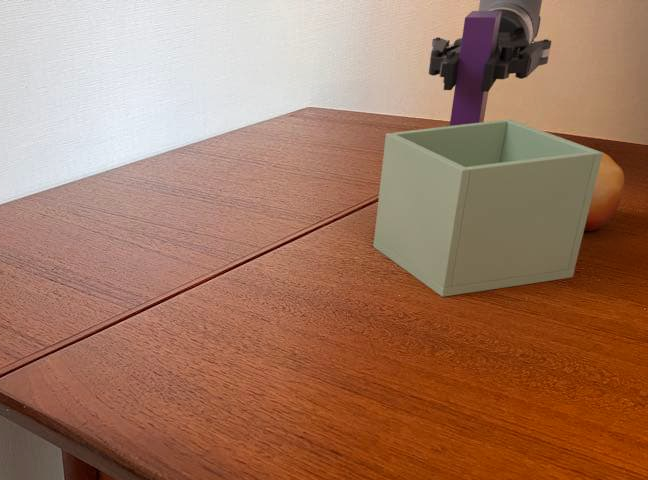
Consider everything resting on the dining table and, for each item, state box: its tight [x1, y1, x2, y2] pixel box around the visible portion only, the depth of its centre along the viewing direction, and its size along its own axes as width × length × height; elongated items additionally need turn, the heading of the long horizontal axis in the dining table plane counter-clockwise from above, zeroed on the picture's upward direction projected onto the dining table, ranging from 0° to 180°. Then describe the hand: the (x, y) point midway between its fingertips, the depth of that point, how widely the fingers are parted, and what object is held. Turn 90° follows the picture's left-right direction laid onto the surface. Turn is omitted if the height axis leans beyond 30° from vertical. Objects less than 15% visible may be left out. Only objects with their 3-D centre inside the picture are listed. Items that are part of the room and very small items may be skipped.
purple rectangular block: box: [449, 10, 502, 126], centre depth 94 cm, size 3×5×12 cm, turn 152°
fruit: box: [584, 151, 625, 232], centre depth 84 cm, size 8×8×8 cm
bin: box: [372, 118, 604, 298], centre depth 76 cm, size 12×12×11 cm
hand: (467, 77), depth 90 cm, fingers closed on purple rectangular block, 3 cm apart
